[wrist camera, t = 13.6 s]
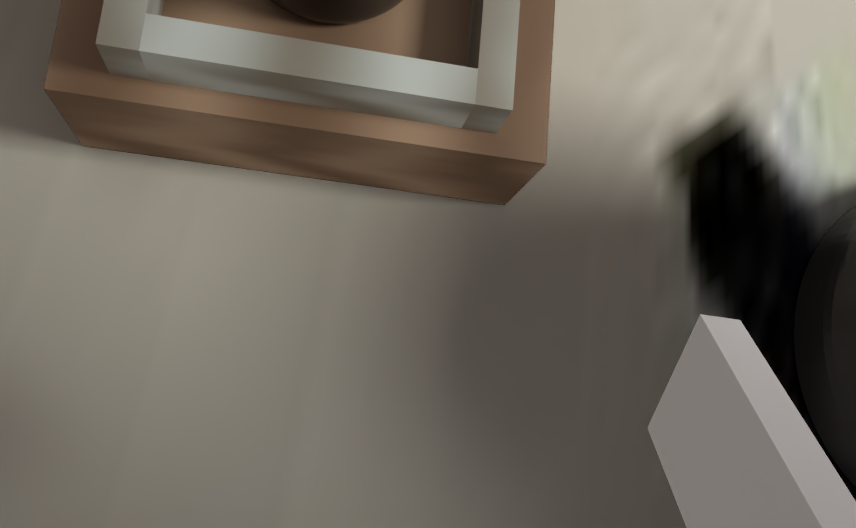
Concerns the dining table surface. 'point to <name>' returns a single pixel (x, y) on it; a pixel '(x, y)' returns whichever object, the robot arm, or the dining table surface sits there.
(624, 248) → the dining table surface
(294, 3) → the supplement bottle
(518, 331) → the dining table surface
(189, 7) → the walnut tray
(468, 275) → the dining table surface
